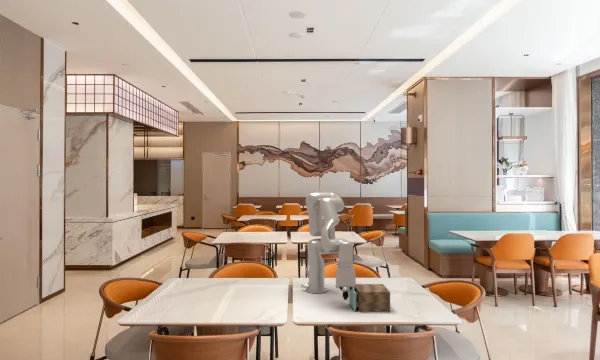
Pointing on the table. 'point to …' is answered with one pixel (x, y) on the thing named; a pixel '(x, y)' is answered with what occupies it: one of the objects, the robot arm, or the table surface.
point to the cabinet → (373, 298)
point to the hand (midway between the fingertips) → (345, 299)
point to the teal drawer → (353, 299)
